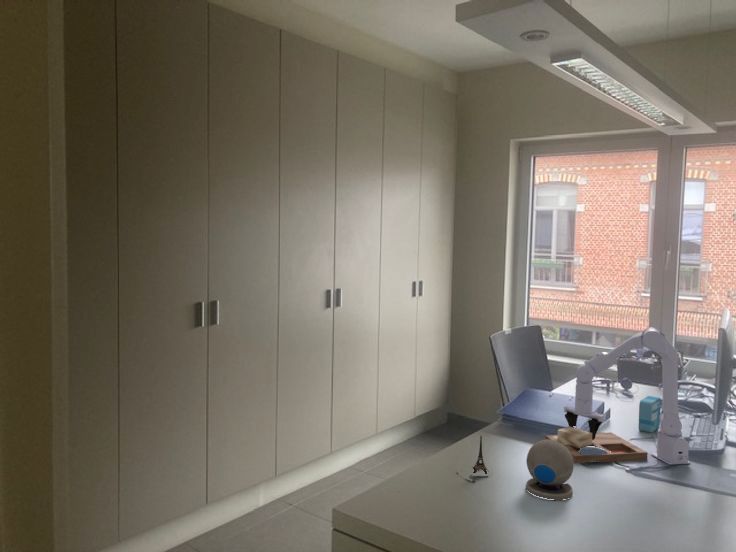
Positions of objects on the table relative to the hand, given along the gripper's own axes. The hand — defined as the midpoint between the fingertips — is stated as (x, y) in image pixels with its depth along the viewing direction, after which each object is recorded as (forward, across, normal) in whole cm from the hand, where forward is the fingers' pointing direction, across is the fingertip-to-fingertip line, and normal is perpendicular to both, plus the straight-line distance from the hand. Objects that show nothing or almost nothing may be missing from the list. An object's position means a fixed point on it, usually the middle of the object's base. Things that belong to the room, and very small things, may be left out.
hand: (582, 436), depth 210 cm
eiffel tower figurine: (+4, +4, +48) cm, 49 cm away
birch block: (+1, 0, +5) cm, 5 cm away
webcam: (+4, -17, +42) cm, 45 cm away
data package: (+4, -3, -40) cm, 40 cm away
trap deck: (+4, -5, 0) cm, 6 cm away
